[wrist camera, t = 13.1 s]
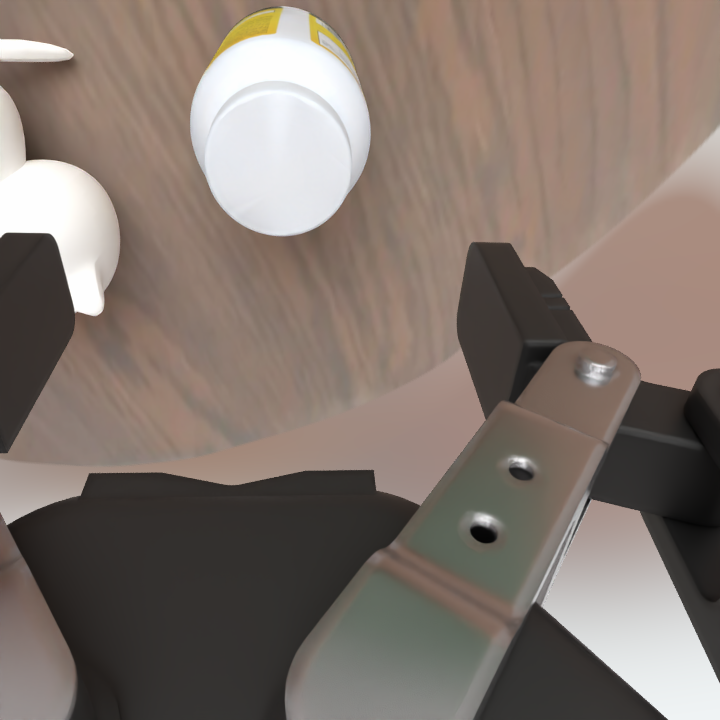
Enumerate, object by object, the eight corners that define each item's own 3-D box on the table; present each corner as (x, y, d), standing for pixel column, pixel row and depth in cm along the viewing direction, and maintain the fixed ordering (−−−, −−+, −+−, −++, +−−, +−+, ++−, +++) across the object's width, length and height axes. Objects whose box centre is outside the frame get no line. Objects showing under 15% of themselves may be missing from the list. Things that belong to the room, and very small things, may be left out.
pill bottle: (194, 108, 29) (139, 204, 20) (254, -30, 26) (224, 7, 17) (314, 176, 31) (316, 291, 22) (383, 57, 28) (420, 132, 19)
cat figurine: (-259, 119, 19) (30, 380, 26) (24, -50, 22) (224, 225, 28) (-195, 132, 27) (18, 334, 33) (12, 4, 29) (174, 214, 35)
